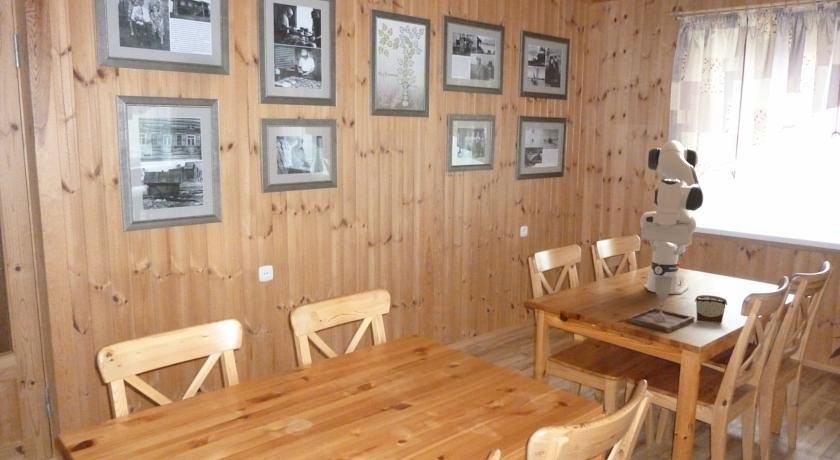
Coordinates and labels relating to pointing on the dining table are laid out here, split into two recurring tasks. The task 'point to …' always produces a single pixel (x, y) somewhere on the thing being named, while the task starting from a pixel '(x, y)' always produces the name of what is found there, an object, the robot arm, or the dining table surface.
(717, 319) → the food container
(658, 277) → the chalice
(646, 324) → the serving tray
